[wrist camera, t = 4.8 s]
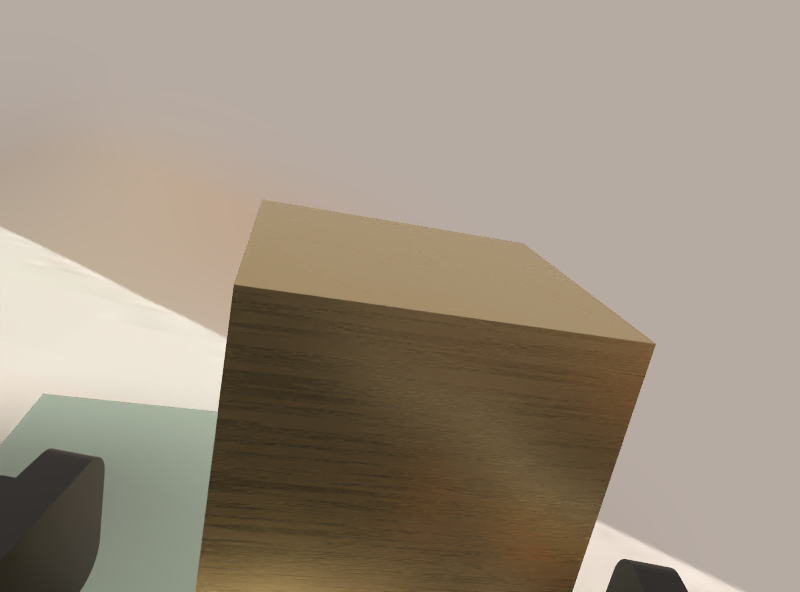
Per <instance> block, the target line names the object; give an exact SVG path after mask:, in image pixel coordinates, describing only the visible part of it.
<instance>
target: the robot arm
mask: <svg viewBox="0 0 800 592" xmlns="http://www.w3.org/2000/svg"><path fill="white" fill-rule="evenodd" d="M104 476H105V465H104V461H103V459H102V458H100V457H95V456H90V455H85V454H79V453H74V452H69V451H64V450H58V449H53V448H50V449H47V450H45V451H44V452H43V453H42V454H41V455H39V456H38V457H37V458H36V459H35V460H34V461H33V462H32V463H31V464H30V465H29V466H28V467H27V468H26V469H24V470H23V471H22V472H21V473H20V474H19V475H18V476H17V477H16V478H15V477H9V476H4V475H0V592H80V591H81V589H82V588H83V586H84V585H85V583H86V581H87V579H88V577H89V575H90V573H91V571H92V568H93V566H94V563H95V560H96V557H97V553H98V549H99V544H100V532H101V518H102V504H103V490H104ZM606 592H688V591H687V589H686V587H685V585H684V584H683V582H682V580H681V578H680V576H679V575H678V573H677V572H676V571H675V570H674V569H672V568H669V567H664V566H659V565H654V564H648V563H643V562H638V561H633V560H627V559H622V560H620V561H619V562H618V563H617V565H616V567H615V569H614V571H613V574H612V577H611V579H610V582H609V585H608V588H607V591H606Z"/></svg>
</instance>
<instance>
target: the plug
mask: <svg viewBox="0 0 800 592" xmlns="http://www.w3.org/2000/svg"><path fill="white" fill-rule="evenodd" d="M655 345H656V344H655V343H654V342H653V341H651V340H650V339H649V338H647V337H646V336H645V335H643V334H642V333H641V332H639V331H638V330H637V329H635V328H634V327H633V326H632V325H630V324H629V323H627V322H626V321H625V320H623V319H622V318H621V317H620V316H618V315H617V314H616V313H614V312H613V311H612V310H610V309H609V308H608V307H606V306H605V305H603V303H601V302H600V301H599V300H597V299H596V298H595V297H593V296H592V295H591V294H589V293H588V292H587V291H585V290H584V289H583V288H581V287H580V286H579V285H577V284H576V283H575V282H573V281H572V280H571V279H570V278H568V277H567V276H566V275H564V274H563V273H562V272H560V271H559V270H558V269H556V268H555V267H554V266H552V265H551V264H550V263H548V262H547V261H546V260H544V259H543V258H542V257H540V256H539V255H538V254H537V253H535V252H534V251H533V250H531V249H530V248H528V247H527V246H526V245H525V244H523V243H517V242H512V241H506V240H500V239H493V238H487V237H481V236H475V235H470V234H464V233H458V232H451V231H445V230H440V229H434V228H428V227H422V226H416V225H410V224H404V223H398V222H391V221H386V220H380V219H374V218H368V217H362V216H356V215H350V214H344V213H338V212H332V211H326V210H320V209H314V208H308V207H303V206H297V205H291V204H284V203H279V202H273V201H267V200H262V202H261V205H260V208H259V211H258V214H257V217H256V220H255V223H254V226H253V229H252V232H251V235H250V238H249V241H248V244H247V247H246V250H245V253H244V256H243V259H242V262H241V265H240V268H239V271H238V274H237V277H236V280H235V283H234V288H233V296H232V304H231V312H230V320H229V328H228V336H227V344H226V352H225V360H224V368H223V376H222V384H221V391H220V399H219V407H218V415H217V423H216V431H215V439H214V447H213V455H212V463H211V471H210V479H209V487H208V495H207V503H206V511H205V519H204V527H203V535H202V543H201V551H200V558H199V566H198V574H197V582H196V590H195V592H572V591H573V588H574V585H575V582H576V579H577V576H578V573H579V570H580V567H581V564H582V561H583V558H584V555H585V552H586V549H587V546H588V543H589V540H590V537H591V534H592V531H593V528H594V525H595V523H596V520H597V517H598V514H599V511H600V508H601V505H602V502H603V499H604V496H605V493H606V490H607V487H608V484H609V481H610V478H611V475H612V472H613V469H614V466H615V463H616V460H617V457H618V454H619V452H620V449H621V446H622V443H623V439H624V437H625V434H626V431H627V428H628V425H629V422H630V419H631V416H632V413H633V410H634V407H635V404H636V401H637V398H638V395H639V392H640V389H641V386H642V383H643V380H644V378H645V375H646V371H647V369H648V366H649V363H650V360H651V357H652V354H653V351H654V348H655Z"/></svg>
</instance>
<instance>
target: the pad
mask: <svg viewBox="0 0 800 592" xmlns="http://www.w3.org/2000/svg"><path fill="white" fill-rule="evenodd" d="M217 415H218V412H214V411H204V410H195V409H185V408H175V407H165V406H156V405H146V404H136V403H127V402H117V401H107V400H98V399H88V398H78V397H68V396H59V395H49V394H43V395H42V396H41V397H40V398H39V400H38V401H37V402H36V403H35V404H34V406H33V407H32V408H31V409H30V411H29V412H28V413H27V414H26V415H25V417H24V418H23V419H22V420H21V422H20V423H19V424H18V425H17V426H16V428H15V429H14V430H13V431H12V433H11V434H10V435H9V436H8V437H7V439H6V440H5V441H4V442H3V443H2V445H1V446H0V475H4V476H9V477H15V478H16V477H17V476H18V475H19V474H20V473H21V472H22V471H23V470H24V469H26V468H27V467H28V466H29V465H30V464H31V463H32V462H33V461H34V460H35V459H36V458H37V457H38V456H39V455H41V454H42V453H43V452H44V451H45V450H47V449H50V448H53V449H58V450H64V451H69V452H74V453H79V454H85V455H90V456H95V457H100V458H102V459H103V461H104V465H105V476H104V490H103V504H102V518H101V532H100V544H99V549H98V553H97V557H96V560H95V563H94V566H93V568H92V571H91V573H90V575H89V577H88V579H87V581H86V583H85V585H84V586H83V588H82V589H81V591H80V592H195V590H196V582H197V574H198V566H199V558H200V551H201V543H202V535H203V527H204V519H205V511H206V503H207V495H208V487H209V479H210V471H211V463H212V455H213V447H214V439H215V431H216V423H217Z"/></svg>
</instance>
